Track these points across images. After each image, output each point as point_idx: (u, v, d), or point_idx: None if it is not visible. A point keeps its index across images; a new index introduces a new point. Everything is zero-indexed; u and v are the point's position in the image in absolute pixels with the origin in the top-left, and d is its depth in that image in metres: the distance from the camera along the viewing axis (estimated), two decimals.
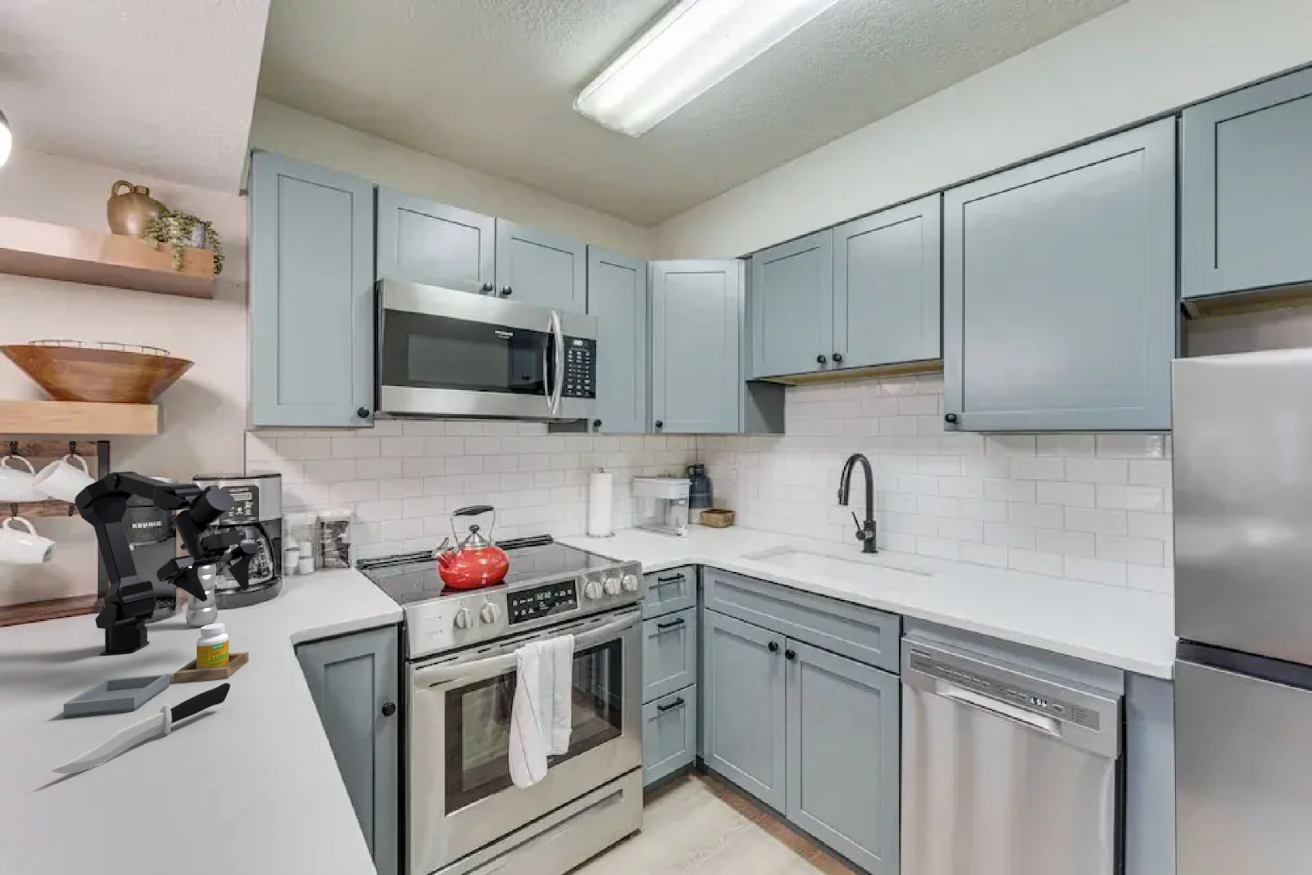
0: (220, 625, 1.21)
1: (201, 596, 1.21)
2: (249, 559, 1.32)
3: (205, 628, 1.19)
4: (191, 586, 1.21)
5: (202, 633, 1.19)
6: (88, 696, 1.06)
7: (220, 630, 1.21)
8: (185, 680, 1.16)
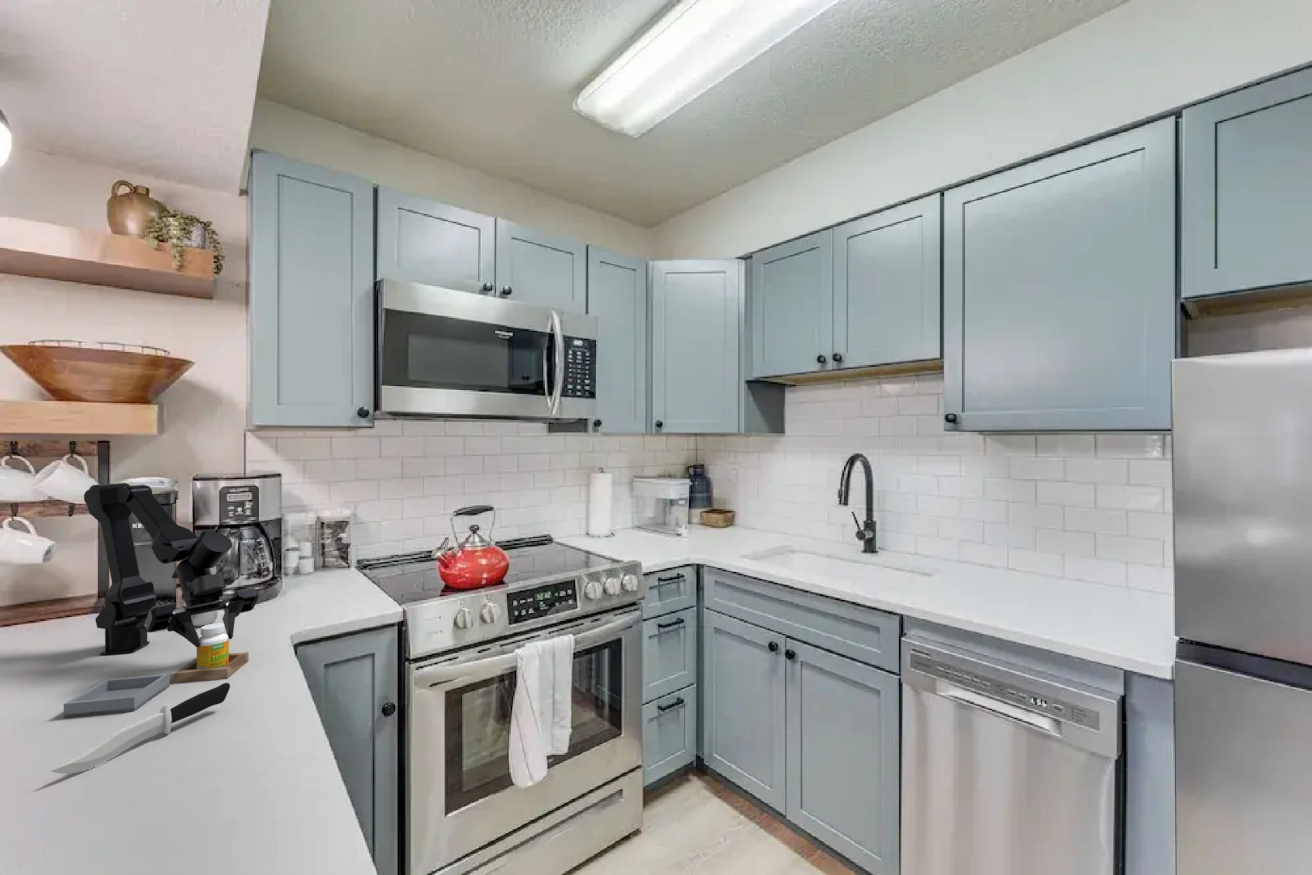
0: (220, 625, 1.21)
1: (194, 641, 1.18)
2: (236, 605, 1.25)
3: (205, 628, 1.19)
4: (186, 632, 1.19)
5: (202, 633, 1.19)
6: (88, 696, 1.06)
7: (220, 630, 1.21)
8: (185, 680, 1.16)
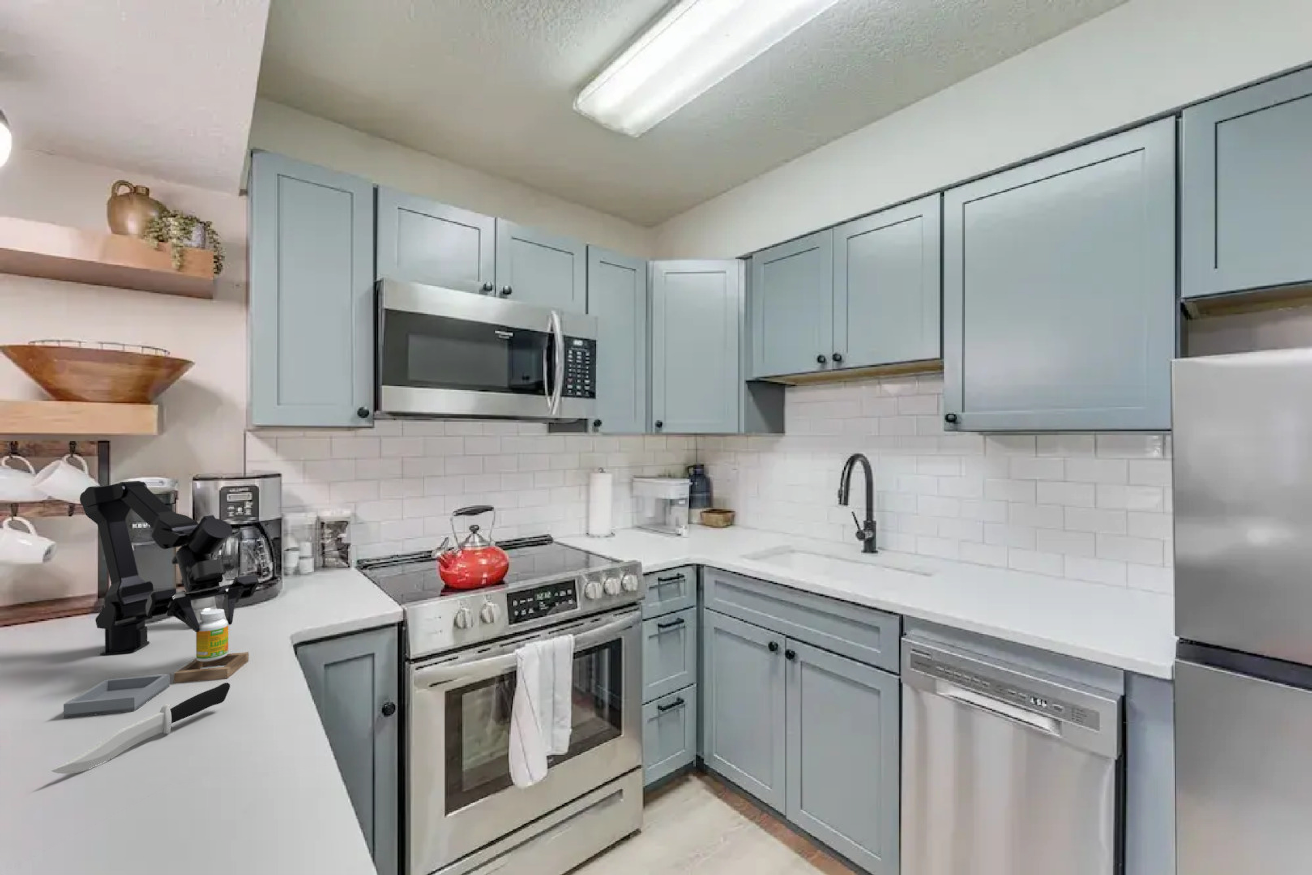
0: (220, 610, 1.21)
1: (193, 626, 1.18)
2: (236, 591, 1.25)
3: (205, 614, 1.19)
4: (186, 617, 1.19)
5: (202, 618, 1.19)
6: (88, 696, 1.06)
7: (220, 616, 1.21)
8: (185, 680, 1.16)
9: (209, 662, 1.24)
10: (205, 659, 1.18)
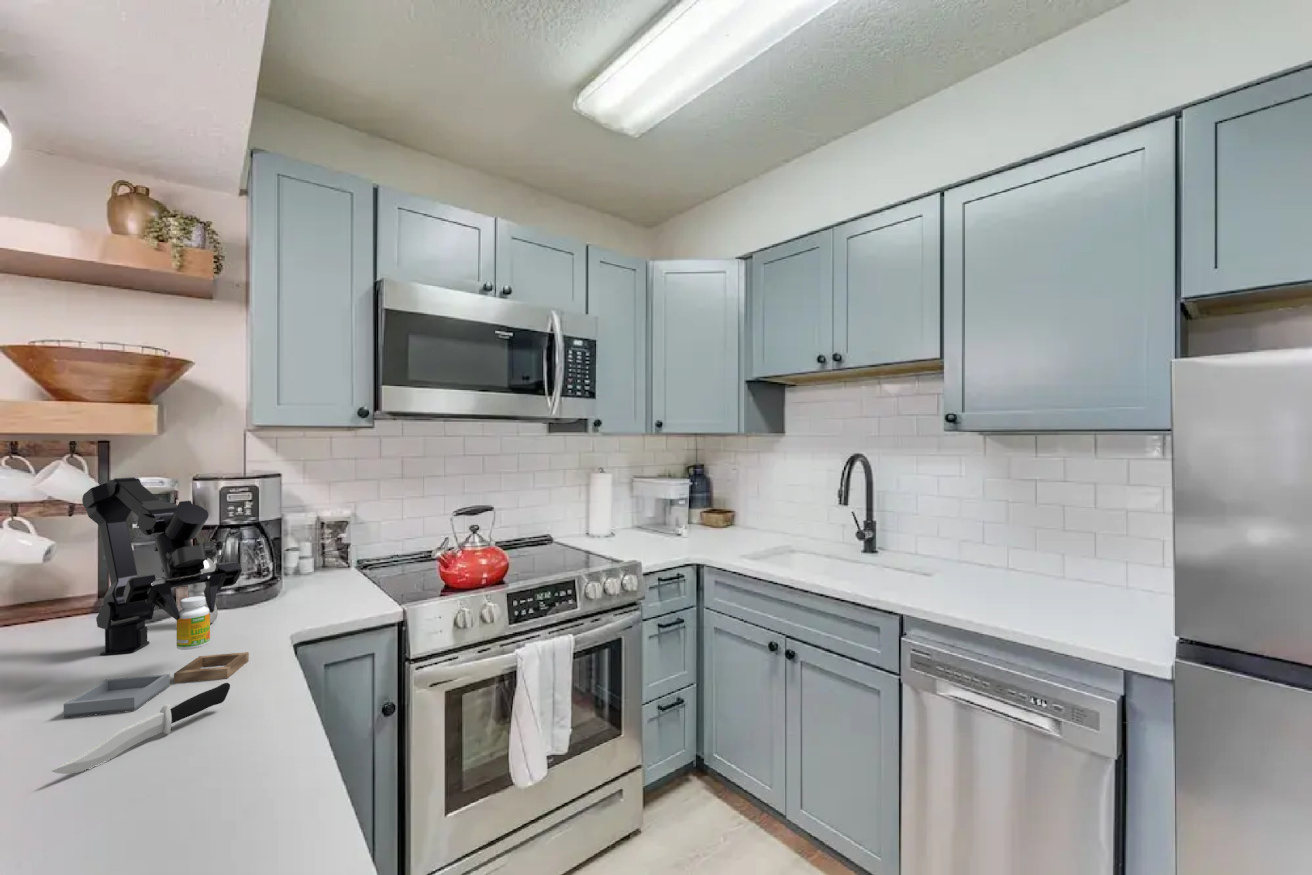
0: (201, 598, 1.18)
1: (173, 614, 1.15)
2: (218, 579, 1.23)
3: (185, 601, 1.16)
4: (166, 604, 1.16)
5: (182, 606, 1.16)
6: (88, 696, 1.06)
7: (201, 603, 1.18)
8: (185, 680, 1.16)
9: (209, 662, 1.24)
10: (186, 647, 1.15)
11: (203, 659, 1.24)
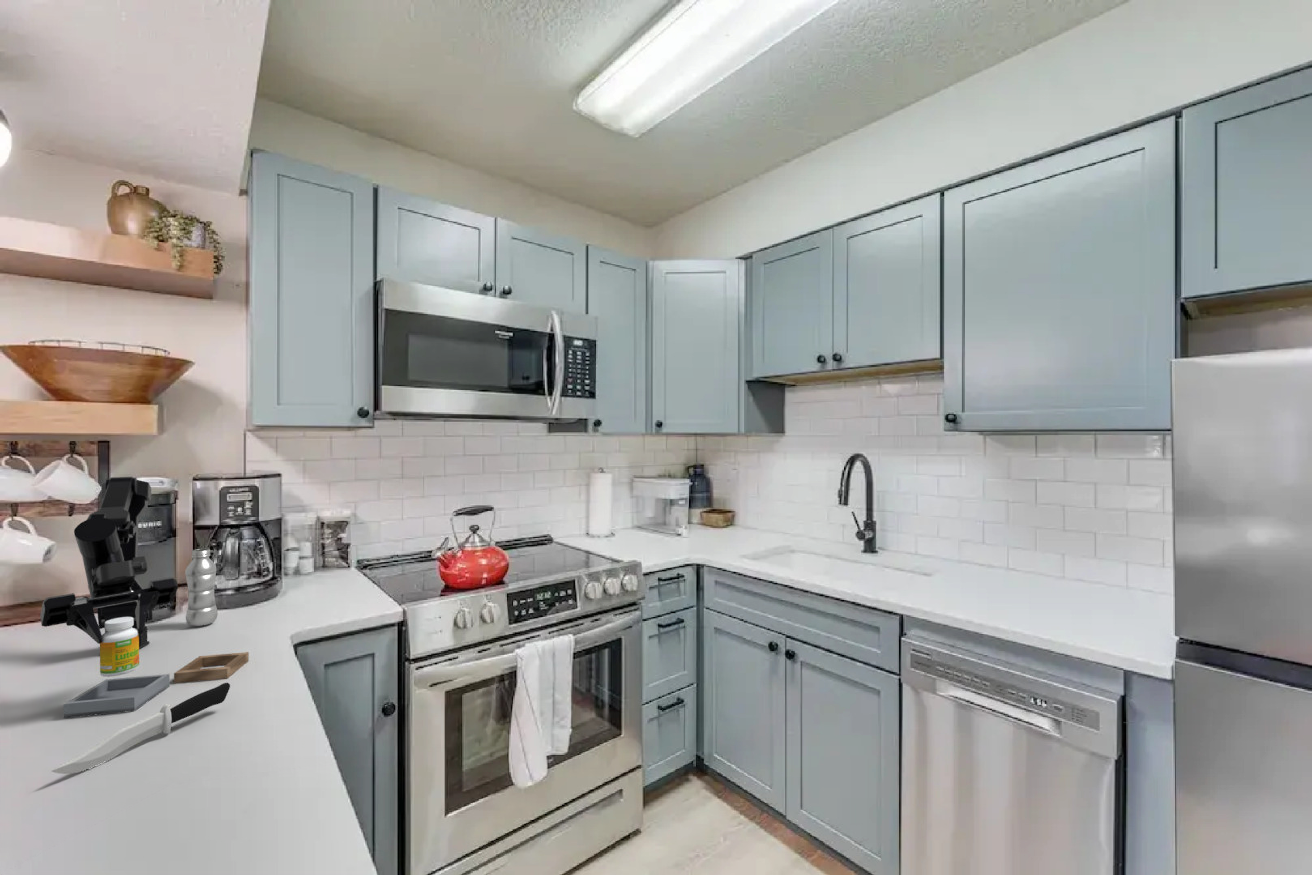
0: (128, 619, 1.08)
1: (95, 637, 1.04)
2: (149, 597, 1.12)
3: (109, 623, 1.06)
4: (87, 626, 1.05)
5: (106, 628, 1.06)
6: (88, 696, 1.06)
7: (127, 625, 1.07)
8: (185, 680, 1.16)
9: (209, 662, 1.24)
10: (109, 674, 1.05)
11: (203, 659, 1.24)
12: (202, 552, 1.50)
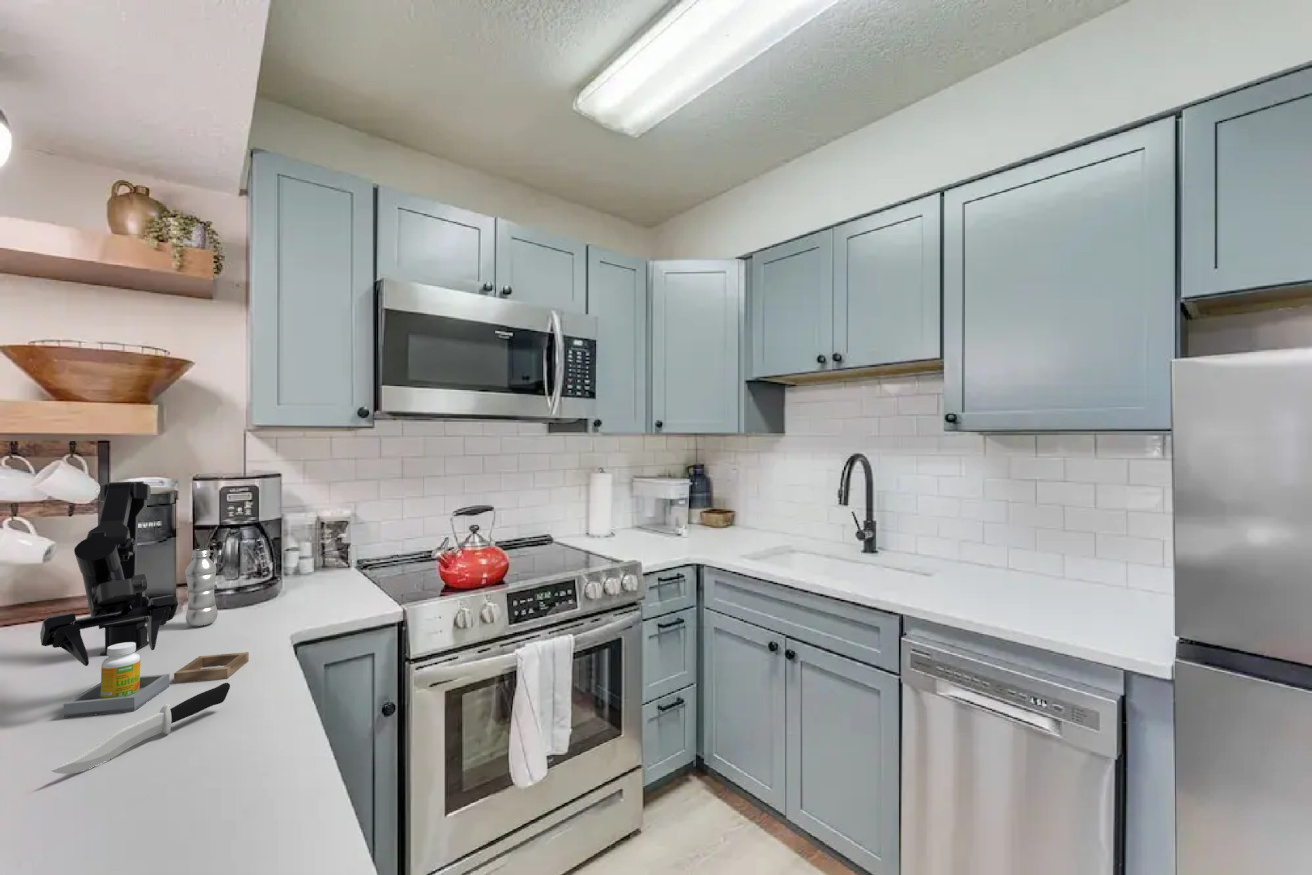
0: (130, 644, 1.08)
1: (82, 659, 1.03)
2: (161, 613, 1.13)
3: (112, 648, 1.06)
4: (74, 648, 1.04)
5: (108, 653, 1.06)
6: (88, 696, 1.06)
7: (129, 650, 1.07)
8: (185, 680, 1.16)
9: (209, 662, 1.24)
10: None
11: (203, 659, 1.24)
12: (202, 552, 1.50)
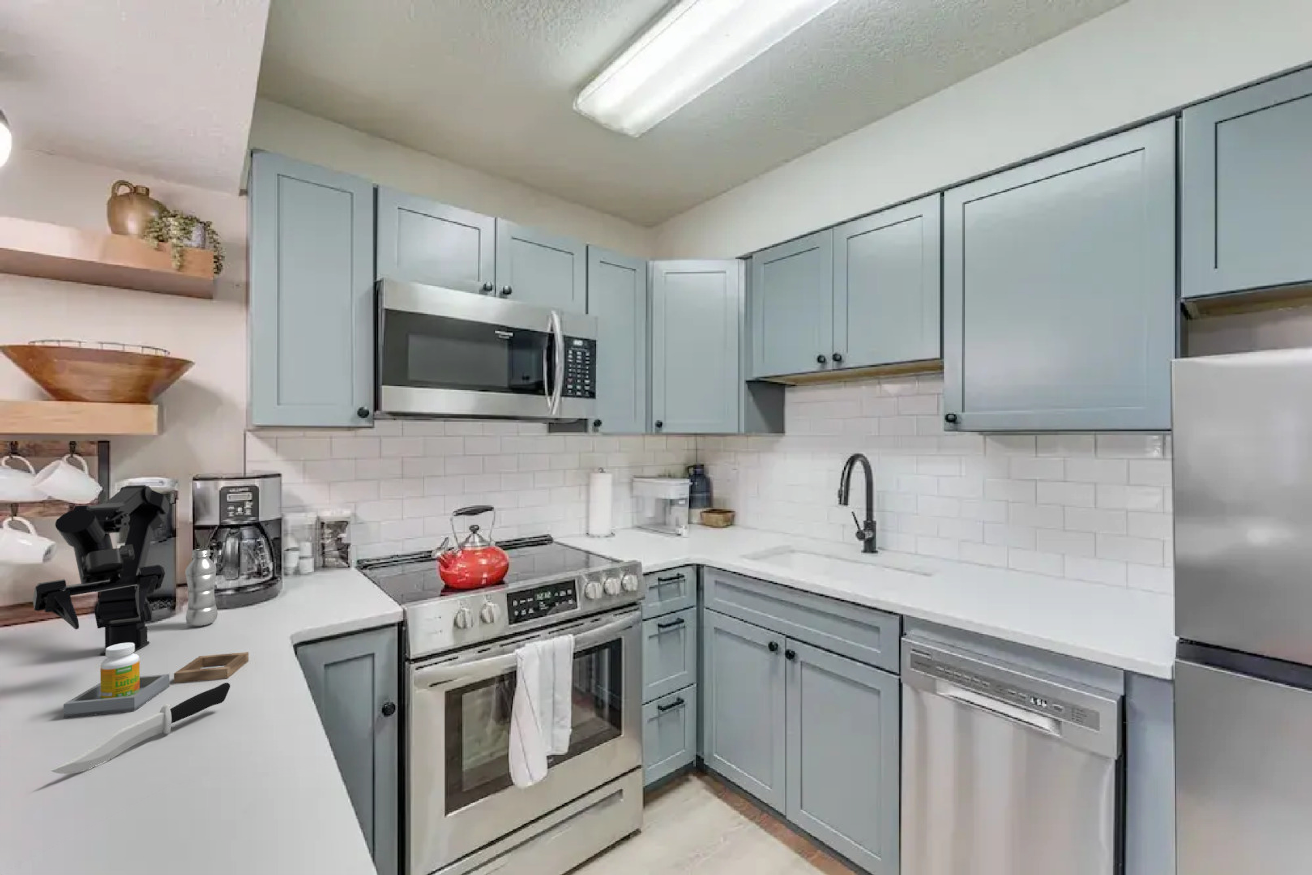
0: (129, 645, 1.08)
1: (72, 623, 1.09)
2: (148, 581, 1.19)
3: (110, 649, 1.06)
4: (65, 613, 1.09)
5: (106, 654, 1.06)
6: (88, 696, 1.06)
7: (128, 651, 1.07)
8: (185, 680, 1.16)
9: (209, 662, 1.24)
10: None
11: (203, 659, 1.24)
12: (202, 552, 1.50)
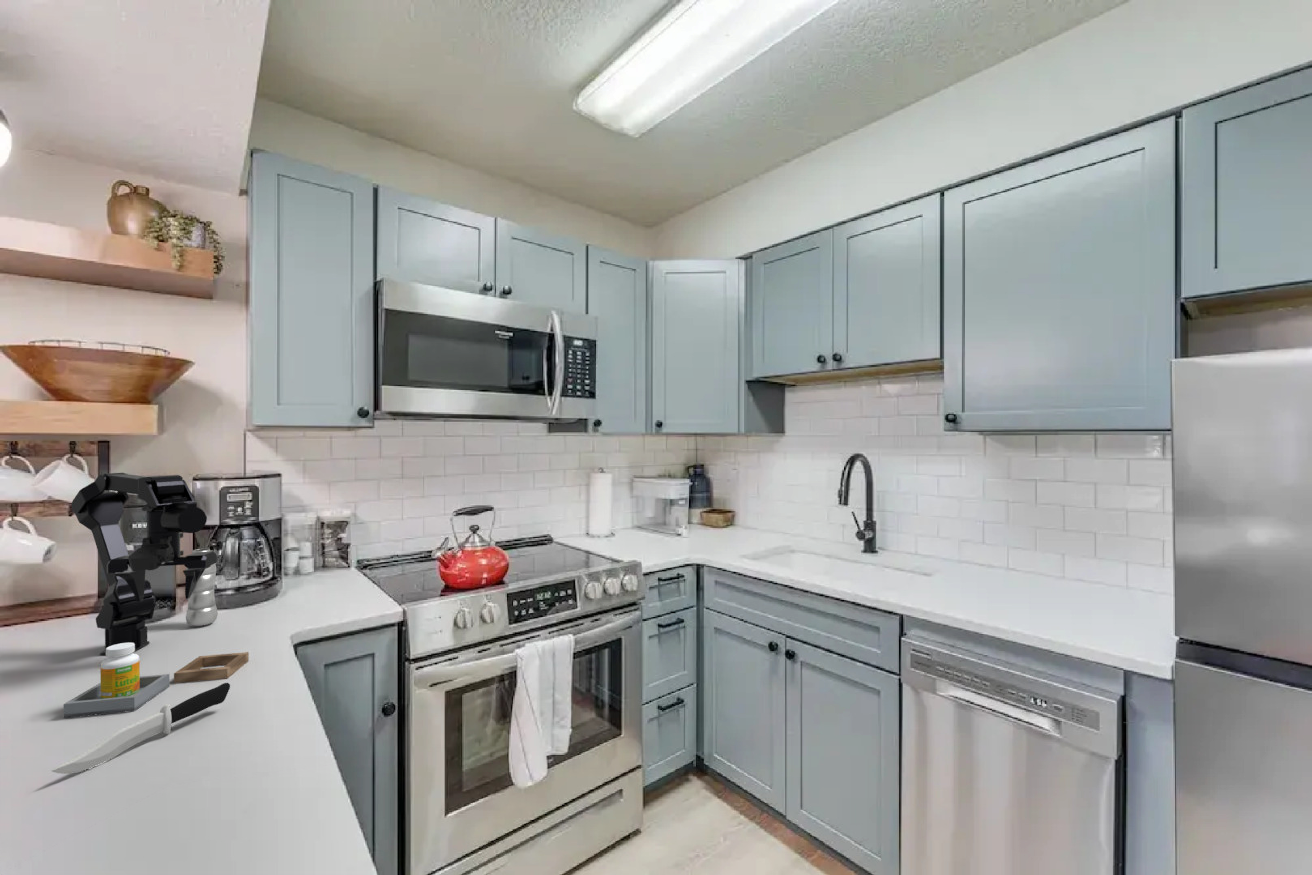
0: (129, 645, 1.08)
1: None
2: (191, 573, 1.28)
3: (110, 649, 1.06)
4: None
5: (107, 654, 1.06)
6: (88, 696, 1.06)
7: (128, 651, 1.07)
8: (185, 680, 1.16)
9: (209, 662, 1.24)
10: None
11: (203, 659, 1.24)
12: None
